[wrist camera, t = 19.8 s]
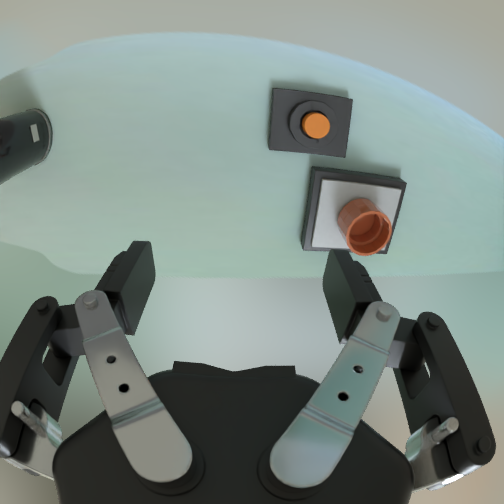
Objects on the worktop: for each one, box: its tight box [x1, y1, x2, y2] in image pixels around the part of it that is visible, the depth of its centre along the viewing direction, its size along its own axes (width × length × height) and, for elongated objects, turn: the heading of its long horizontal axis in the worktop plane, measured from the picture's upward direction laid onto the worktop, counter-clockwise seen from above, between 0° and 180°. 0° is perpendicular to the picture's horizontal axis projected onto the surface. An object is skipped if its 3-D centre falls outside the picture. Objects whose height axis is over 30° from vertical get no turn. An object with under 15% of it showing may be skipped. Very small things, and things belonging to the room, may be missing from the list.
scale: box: [301, 167, 407, 254], centre depth 38 cm, size 14×12×3 cm
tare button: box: [302, 112, 330, 138], centre depth 30 cm, size 3×3×2 cm
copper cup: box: [337, 198, 392, 256], centre depth 35 cm, size 6×6×5 cm
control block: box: [269, 88, 353, 158], centre depth 31 cm, size 10×8×3 cm
